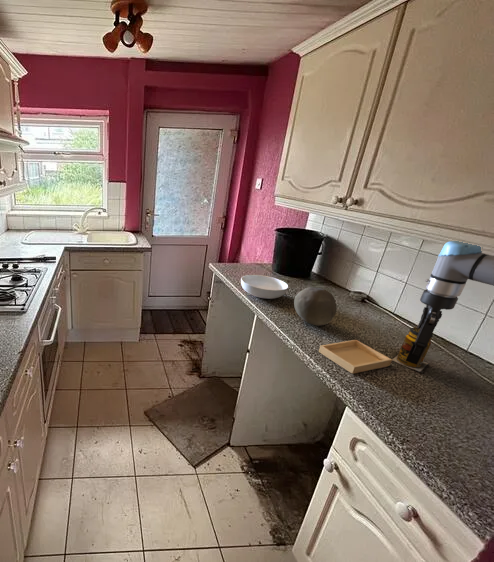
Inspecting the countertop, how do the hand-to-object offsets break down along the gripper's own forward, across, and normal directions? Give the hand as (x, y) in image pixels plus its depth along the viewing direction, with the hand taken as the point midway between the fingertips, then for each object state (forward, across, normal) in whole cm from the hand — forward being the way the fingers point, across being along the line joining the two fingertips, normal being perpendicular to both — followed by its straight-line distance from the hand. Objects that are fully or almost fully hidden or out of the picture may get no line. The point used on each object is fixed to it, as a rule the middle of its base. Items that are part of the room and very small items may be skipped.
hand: (411, 357), depth 101 cm
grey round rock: (+2, -6, -31) cm, 32 cm away
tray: (+2, +11, -14) cm, 18 cm away
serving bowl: (+2, -21, -56) cm, 60 cm away
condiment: (+2, -1, 0) cm, 3 cm away
